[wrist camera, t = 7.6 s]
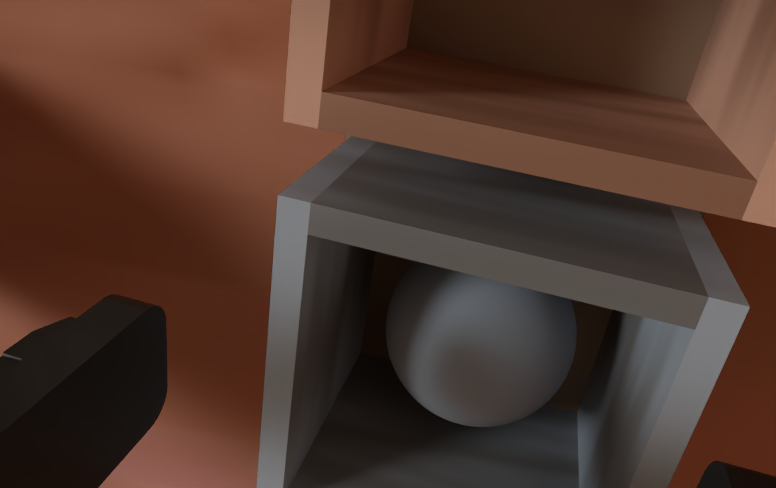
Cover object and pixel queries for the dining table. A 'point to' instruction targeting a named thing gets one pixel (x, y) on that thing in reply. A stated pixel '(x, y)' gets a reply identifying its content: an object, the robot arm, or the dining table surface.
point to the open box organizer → (515, 226)
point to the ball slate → (478, 345)
